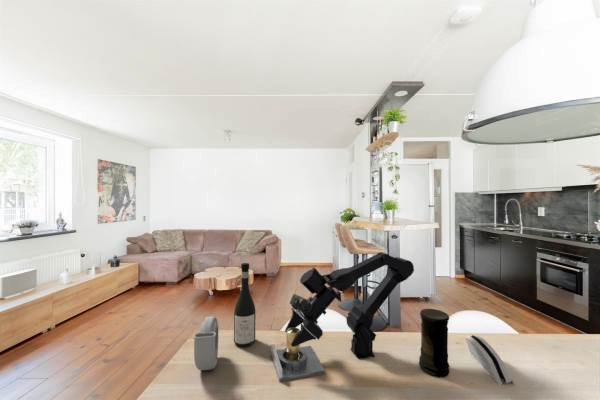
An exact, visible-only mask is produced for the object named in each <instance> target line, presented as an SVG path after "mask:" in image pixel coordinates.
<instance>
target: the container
mask: <svg viewBox="0 0 600 400" xmlns="http://www.w3.org/2000/svg"><path fill="white" fill-rule="evenodd" d="M419 315H420V319H421V322H420V326H421V328H420V329H421V330H420V331H421V334H420V337H421V338H420V339H421V340H420V341H421V342H420V354H419V355H420V356H419V358H418V359H419V361H418V366H419V368H420V370H421V371H422V372H423V373H424V374H427V375H429V376H430V377H431V376H432V377H434V378H443V379H444V378H446V377H449V374H450V363H449V362H448V361H449V353H448V352H449V351H448V349H449V348H448V343H449V342H448V341H449V339H448V337H449V336H448V335H449V328H448V324H449V321H450V316H449V315H448V313H446V312H445V311H442V310H438V309H436V308H435V309H433V308H423V309H421V310H420V312H419Z"/></svg>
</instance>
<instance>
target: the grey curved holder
mask: <svg viewBox="0 0 600 400" xmlns="http://www.w3.org/2000/svg"><path fill="white" fill-rule="evenodd" d="M200 326H201V327H200V331H199V332H197V333H194V335H193V336H192V337H193V339H194V340H193V341H194V343H193V350H194V351H193V356H194V363H195V367H196V369H197V370H198V371H208V370H210V371H211V370H214V369H215V368H216V367H217V361H218V356H219V322H218V319H217V317H216V316H206V317H205V318H204V321H202V323H201V325H200Z"/></svg>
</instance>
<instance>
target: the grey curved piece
mask: <svg viewBox="0 0 600 400" xmlns="http://www.w3.org/2000/svg"><path fill="white" fill-rule="evenodd" d="M465 341H466V344H467V347H468V349H469V350H468V351H469V353H471V354H472V355H473V356H472V355H471V354H470V355H471V356H472V357H473V358H474V360H476V361H477V363H478V362H479V363H480V364H481V365H480V364H479V363H478V364H479V365H480V367H482V368H483V369H484V371H487V372H488V373H489V374H490V375H489V374H488V373H487V372H486V373H487V374H488V375H489V376H490V377H491V379H492V380H493V381H494V382H495V381H496V382H497V383H496V382H495V383H496V384H497V385H503V383H506V384H508V383H510V381H511V382H512V385H513V386H516V382H515V379H514V378H513V377H512V376H511V375H510V374H509V373H508V372H507V370H506V368H505V365H504V363H503V361H502V359H501V357H500V355H499V354H498V353H497V352H496V350H495V349H494V348H493V347H492V345H490V344H489V343H488V341H486V340H485V338H483V337H481V335H478V334H472V335H467V336H465Z"/></svg>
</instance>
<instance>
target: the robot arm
mask: <svg viewBox="0 0 600 400" xmlns="http://www.w3.org/2000/svg"><path fill="white" fill-rule="evenodd" d="M384 266H387V269H386V275H385V276H384V277H383V279H382V280H381V281H380V283H379V284H378V285H377V287H376V288H375V289H374V290H373V292H372V293H371V294H370V295H369V297H368V298H367V299H366V300H365V302H364V303H363V304H362V305H361V306H356V305H354V306H352V309H351V310H350V311H349V312H348V313H347V317H346V319H345V320H346V325H347V327H348V328H349V329H350V330H351V332H352V333H353V334H352V339H351V340H350V341H351V343H350V344H351V347H350V351H351V352H352V354H354V355H355V357H356V358H357V359H359V360H362V359H368V358H375V356H376V355H375V352H373V346H374V345H373V342H375V339H376V337H377V334H376V333H375V332H374V331H373V330H372V329H371V327H372V325H373V321H374V316H375V314H376V313H377V312H378V310H379V309H380V308H381V307H382V306H383V304H384V303H385V301H386V300H387V299H388V298H389V296H390V295H391V293H392V292H393V291H394V289H395V288H396V287H397V286H398V285H399V284H401V283H402V282H404V281H406V280H408V279H409V278H410V277H411V276H412V275H413V273H414V271H415V268H414V263H413V262H412V261H410V260H408V259H405V258H402V257H400V256H395V257H394V256H392V255H390V254H388V253H386V252H382V251H379V252H377V253H376V254H375V255H373V256H371V257H368V258H366V259H364V260H363V261H361V262H358V263H356V264H355V265H352V266H349V267H343V268H339V269H336V270H333V271H331V272H330V273H327V274H321V273H320V272H319V270H318V269H316V268H315V267H312V268H311V269H309V270H307V271H306V272H304V273H303V274H302V275H301V278H300V279H299V282H300V284H302V286H303V287H304V288H305V289H306V290H308V291H309V292H310V293H311V294H312V295H313V294H315V295H314V296H313V297H312V296H309V297H308V298H304V297H302V296H301V295H298V294H296V293H294V294H292V296H291V299H290V301H289V304H290V305H291V316H290V319H289V321H288V323H287V326H286V327H285V330H284V331H285V333H286V334H287V329H289V328H298V326H300V329H299V330H300V332H299V333H298V334H297V336H296V337H295V339H294V340H293V342H292V343H291V346H293V347H294V346H297V345H299V344H300V345H302V344H304V343H306V342H309V341H312V340H315V341H316V340H320V338H322V336H324V335H323V334H324V333H323V329H322V327H320V325H319V324H318V323H319V321H318V320H319V318H320V317H321V316H322V315H324V316H325V315H326V314H327V311H326V309H328V307H329V306H330V305H331V304H332V303H333V302H334V301H335V300H338V301H339V302H342V293H341V292H345V291H347V290H349V289H350V288H352V287H353V285H355V283H356V282H357V280H359V279H361V278H362V277H365V276H367V275H369V274H371V273H372V272H374V271H377V270H379V269H380V268H382V267H384ZM326 285H328V286H326ZM336 290H337V291H336Z"/></svg>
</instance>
